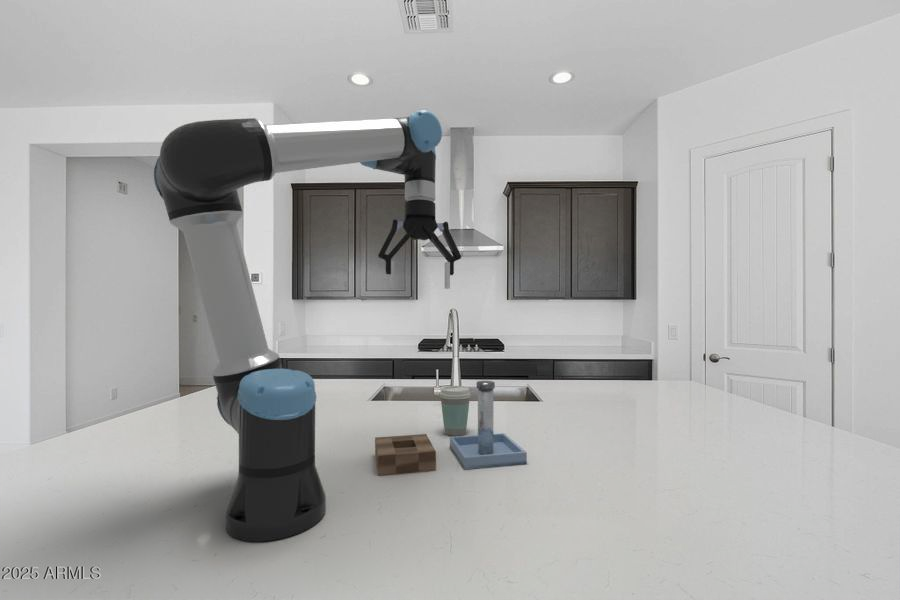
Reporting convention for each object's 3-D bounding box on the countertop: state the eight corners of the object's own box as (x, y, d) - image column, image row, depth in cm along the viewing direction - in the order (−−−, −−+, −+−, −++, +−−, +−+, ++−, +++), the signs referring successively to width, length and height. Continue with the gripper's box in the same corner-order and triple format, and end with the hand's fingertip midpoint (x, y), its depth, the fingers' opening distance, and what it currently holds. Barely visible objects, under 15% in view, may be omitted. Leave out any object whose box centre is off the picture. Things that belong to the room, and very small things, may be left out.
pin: (497, 455, 96) (497, 383, 96) (479, 456, 95) (479, 384, 95) (491, 448, 100) (491, 380, 100) (474, 450, 99) (474, 381, 99)
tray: (526, 463, 92) (526, 452, 92) (464, 469, 89) (464, 457, 89) (504, 443, 106) (504, 433, 106) (449, 447, 103) (449, 437, 103)
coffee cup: (471, 428, 118) (471, 385, 118) (470, 438, 109) (470, 392, 110) (441, 427, 119) (441, 385, 119) (437, 437, 110) (437, 391, 110)
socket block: (435, 470, 89) (435, 451, 89) (377, 475, 86) (378, 455, 86) (426, 450, 100) (426, 433, 100) (375, 454, 98) (375, 437, 98)
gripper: (465, 207, 110) (465, 289, 110) (367, 202, 104) (367, 288, 104) (473, 200, 102) (473, 288, 102) (368, 195, 97) (368, 287, 97)
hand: (420, 288), depth 103 cm, fingers open, 13 cm apart
